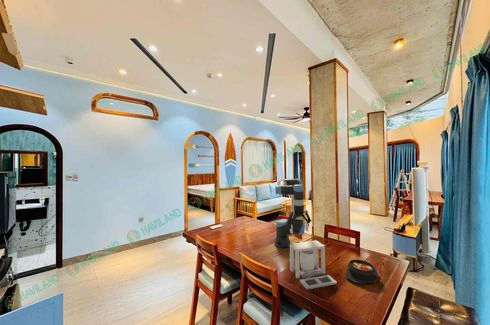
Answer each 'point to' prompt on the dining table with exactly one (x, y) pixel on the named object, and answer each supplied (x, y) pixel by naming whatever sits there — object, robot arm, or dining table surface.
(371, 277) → the casserole
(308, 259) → the jar
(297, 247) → the open rectangular frame
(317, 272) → the picture frame
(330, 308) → the dining table surface
